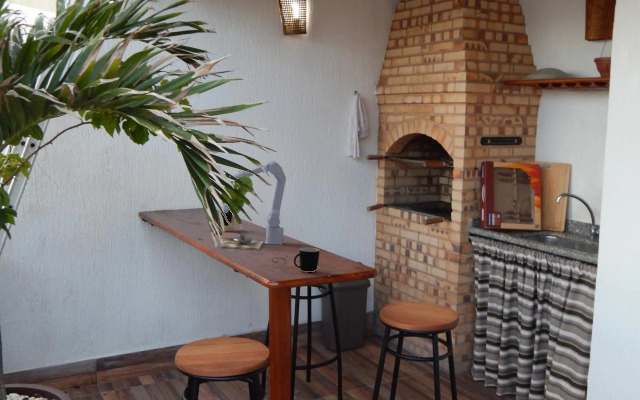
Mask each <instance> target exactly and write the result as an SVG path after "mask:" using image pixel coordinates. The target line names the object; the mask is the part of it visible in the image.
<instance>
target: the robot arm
mask: <svg viewBox="0 0 640 400" xmlns="http://www.w3.org/2000/svg"><path fill="white" fill-rule="evenodd" d="M261 165H263V167H264V169H265V171H266V172H264V171H263V170H262V169H261V168H259V167H258V166H256V167H253V168H251V169H250V170H251V171H253V172H255V173H256V174H255V175H258V174H261V173H270V174H271V175H273V176H274V178H275V179H276V181H275V182H276V183H275V186H274V187H275V188H274V192H273V199H272V204H271V208H270V210H269V214H268V216H267V217H266V221H267V223H268V224H267V225H266V232H265V233H266V234H265V241H264V242H263V244H264V245H280V246H282V245H283V243H284V240H285V239H284V227H281V226H280V224H281V220H280V219H281V218H280V214H281V213H280V212H281V207H282V202H283V197H284V192H285V187H286V183H287V182H286V181H287V177H286V174H285V172H284V170H283V167H282V166H281V165H280V164H279V163H278V162H277V161H275V160H274V161H270V162H266V163H263V164H261ZM230 175H232V176H234V177H235V178H239V177H240V176H248V178H250V177H252V176H254V175H253V174H251V173H248V172H247V171H245V170H238V172H236V173H233V174H230ZM231 183H232V184H233V181H231ZM220 207H221V208H222V209H223V210H224V213H225V214H226V216H227V219H228V221H229V222H230V223H231V220H232V216H233V215H232V213H231V212H230V210H229V208H228V206H227V205H225V204H223V203H222V206H220ZM221 215H222V213H221ZM222 217H223V222H224V226H228V225H229V224H228V223H227V222H226V220H225V218H224V216H223V215H222Z"/></svg>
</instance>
